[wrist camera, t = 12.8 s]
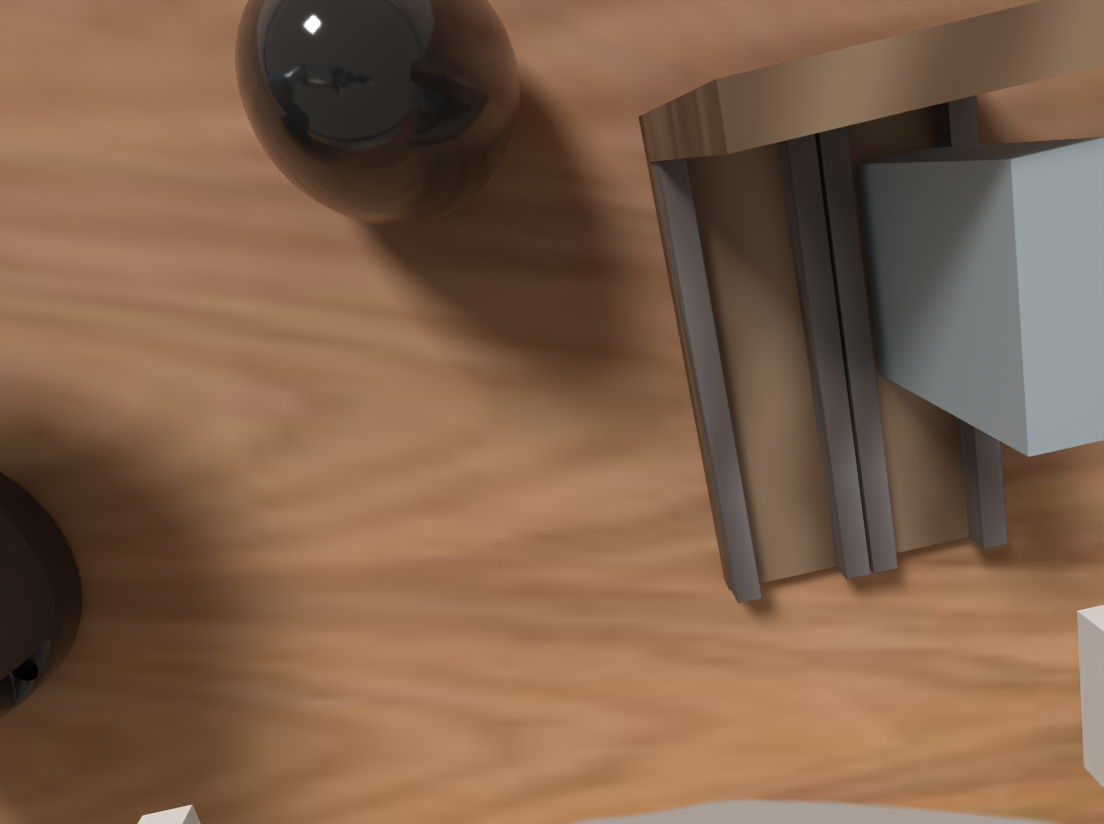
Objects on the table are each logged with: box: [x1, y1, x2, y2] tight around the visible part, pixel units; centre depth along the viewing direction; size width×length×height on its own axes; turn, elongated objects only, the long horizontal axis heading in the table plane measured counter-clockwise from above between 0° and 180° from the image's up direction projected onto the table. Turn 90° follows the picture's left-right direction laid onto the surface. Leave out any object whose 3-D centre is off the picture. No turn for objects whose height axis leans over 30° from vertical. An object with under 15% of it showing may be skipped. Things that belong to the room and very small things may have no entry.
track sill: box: [639, 0, 1104, 603], centre depth 32 cm, size 14×24×15 cm, turn 13°
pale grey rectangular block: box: [856, 137, 1104, 457], centre depth 32 cm, size 3×10×12 cm, turn 13°
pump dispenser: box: [235, 0, 520, 226], centre depth 29 cm, size 10×10×15 cm
